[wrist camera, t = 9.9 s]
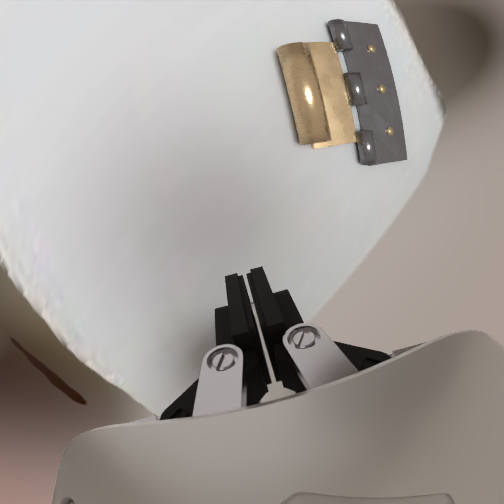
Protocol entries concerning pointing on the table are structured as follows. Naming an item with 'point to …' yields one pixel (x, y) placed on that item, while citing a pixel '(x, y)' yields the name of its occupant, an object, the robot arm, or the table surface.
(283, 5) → the table surface
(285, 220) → the table surface
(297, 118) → the bronze hinge leaf
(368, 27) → the steel hinge leaf
